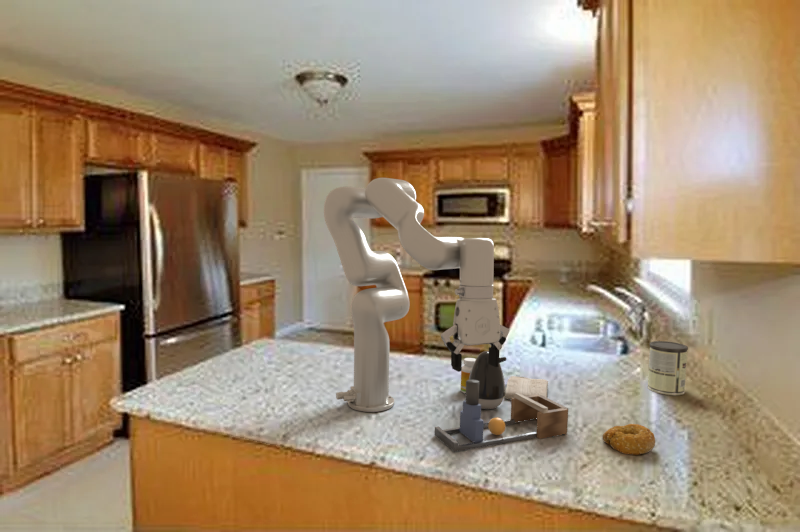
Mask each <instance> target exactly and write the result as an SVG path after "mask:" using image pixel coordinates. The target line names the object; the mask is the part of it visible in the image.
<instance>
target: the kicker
mask: <svg viewBox="0 0 800 532" xmlns="http://www.w3.org/2000/svg"><path fill="white" fill-rule="evenodd" d="M459 411H460V412H459V427H460V432H461V433H460V434H462V435H464V437H466V438H467V439H469V441H472V443H474V442H480V441H484V429H483V424H484V423H485V421H484V419H482V409H481V405H480V404H479V381H477V380H467V381H466V394H465V400H462V410H459Z"/></svg>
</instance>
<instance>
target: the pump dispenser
mask: <svg viewBox="0 0 800 532" xmlns="http://www.w3.org/2000/svg"><path fill="white" fill-rule="evenodd" d="M475 359H476V360H475V362H474V364H473V367H472V370H471V373H470V376H469V380H477V381H479V404H480V405H481V410H494V409H496V408H498V407H499V406H500V405H501V404H502V403H503V400H504V399H505V393H506V383H505V378H504V376H505V375H504V373H503V368H502V365H501V363H503V362H506V361H507V357H506V356H502V357H499V366H498V367H494V366H492V365H490V364H489V350H484V351H482V352H480V353H479V354H478V355H477V357H476V358H475Z"/></svg>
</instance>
